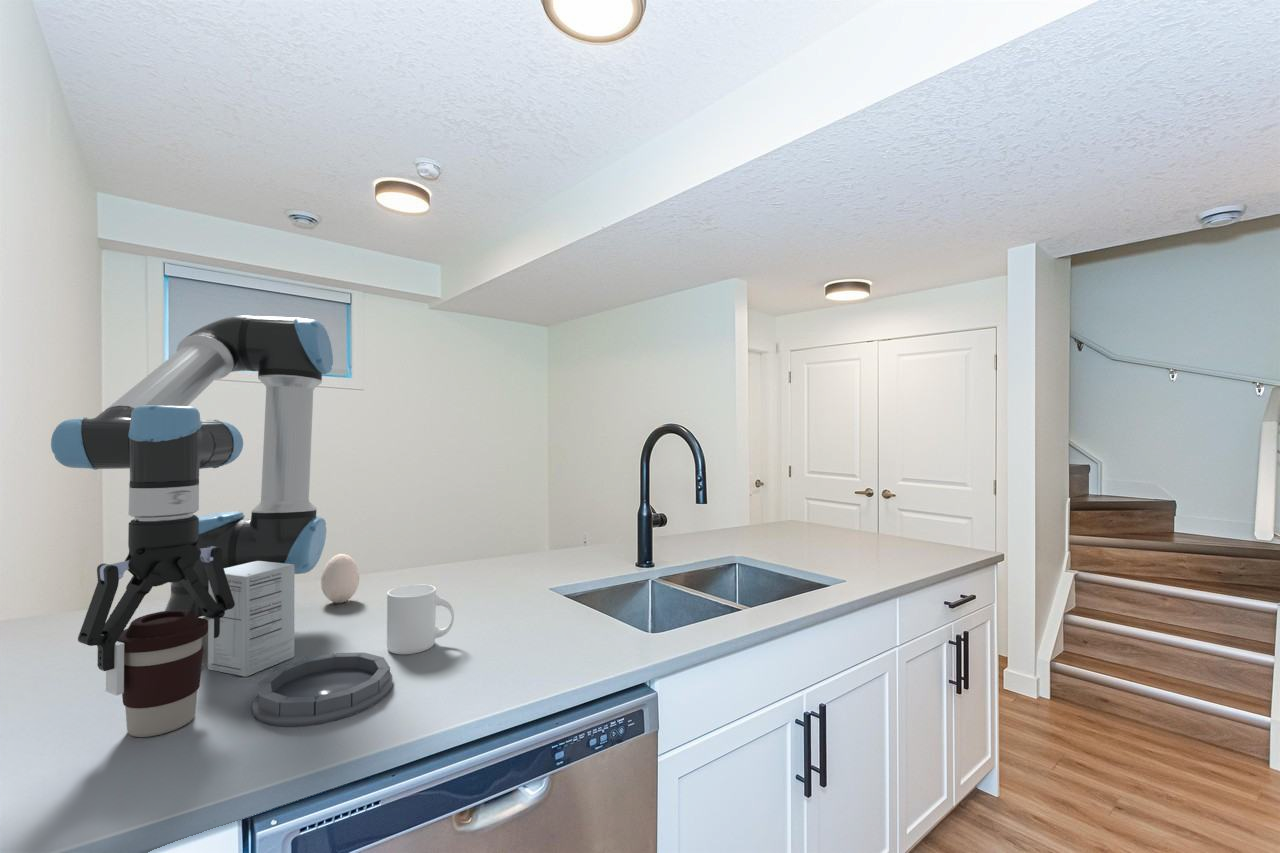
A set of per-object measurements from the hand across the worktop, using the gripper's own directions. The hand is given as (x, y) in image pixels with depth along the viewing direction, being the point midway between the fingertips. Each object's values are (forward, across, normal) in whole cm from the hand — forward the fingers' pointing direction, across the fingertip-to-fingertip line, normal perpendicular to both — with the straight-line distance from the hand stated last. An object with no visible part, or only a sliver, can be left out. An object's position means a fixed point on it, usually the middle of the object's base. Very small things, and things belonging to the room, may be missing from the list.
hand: (162, 676), depth 79 cm
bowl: (+7, +16, -12) cm, 21 cm away
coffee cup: (+7, 0, 0) cm, 7 cm away
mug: (+7, +37, -10) cm, 39 cm away
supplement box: (+7, +18, +10) cm, 22 cm away
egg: (+7, +48, +27) cm, 56 cm away
